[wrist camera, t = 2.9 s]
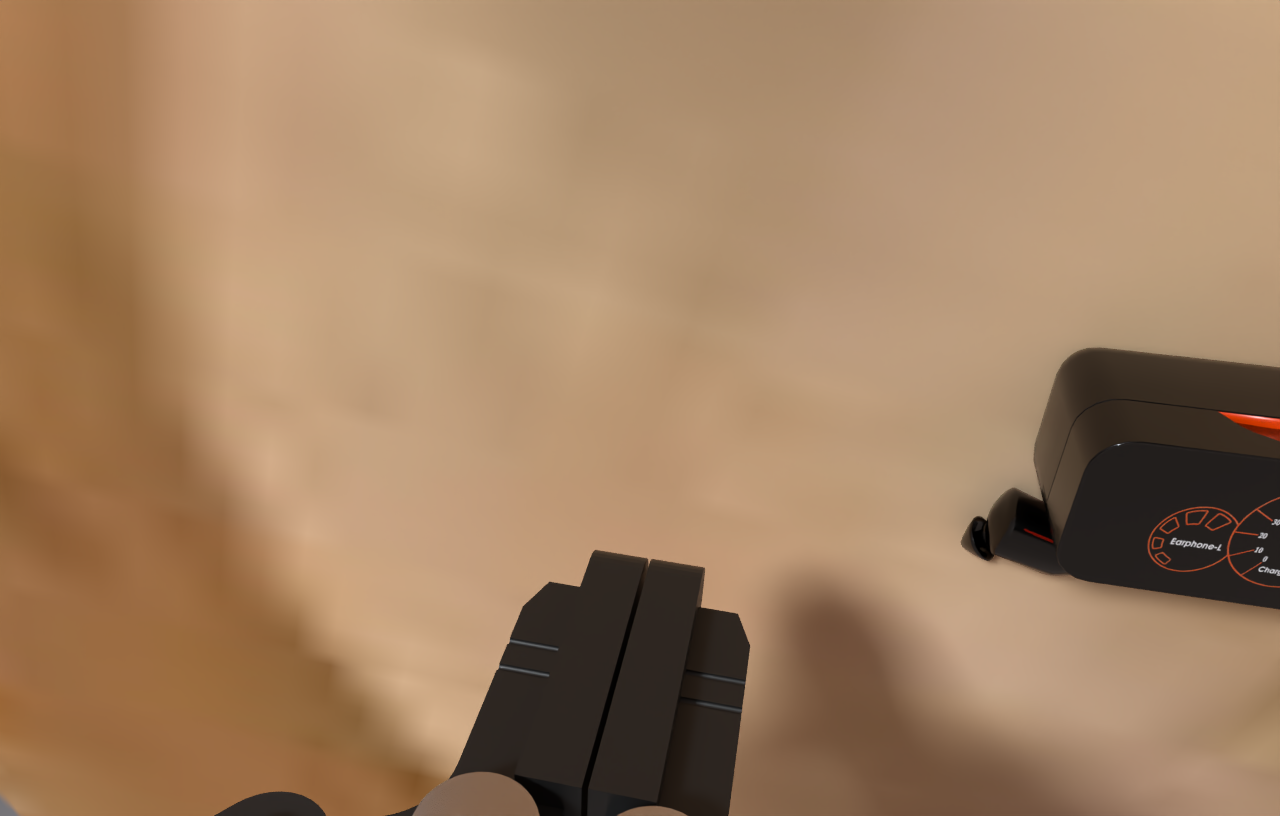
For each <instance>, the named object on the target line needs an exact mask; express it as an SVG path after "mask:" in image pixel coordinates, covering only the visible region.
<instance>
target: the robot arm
mask: <svg viewBox="0 0 1280 816" xmlns="http://www.w3.org/2000/svg"><path fill="white" fill-rule="evenodd" d="M704 575H705V568H703V567H697V566H691V565H685V564H679V563H673V562H667V561H661V560H655V559H652V560H651V561H650V564H649V567H648V559H647V558H641V557H635V556H629V555H623V554H617V553H611V552H605V551H599V550H595V551H594V552H593V553H592V555H591V558H590V561H589V564H588V566H587V569H586V572H585V575H584V578H583V581H582V583H581V586H580V587H577V586H571V585H565V584H559V583H554V582H549V583H548V584H547V585H546V586H544V587H543V588H542V589H541V590H540V591H539V592H538V593H537V594H536V595H535V596H534V597H533V598H532V599H531V600H529V601H528V602H527V603H526V604H525V605H524V606H523V608H522V610H521V613H520V615H519V618H518V620H517V622H516V625H515V627H514V630H513V632H512V634H511V637H510V642H509V644H507V647H506V649H505V651H504V654H503V656H502V659H501V661H500V665H499V669H498V670H497V671H496V673H495V675H494V678H493V680H492V683H491V685H490V688H489V690H488V692H487V695H486V697H485V700H484V702H483V704H482V707H481V709H480V712H479V714H478V717H477V719H476V721H475V724H474V726H473V729H472V731H471V733H470V736H469V738H468V741H467V743H466V746H465V748H464V750H463V753H462V755H461V758H460V760H459V762H458V765H457V766H456V768H455V770H454V772H453V774H452V775H451V777H450V778H449V779H448V780H446V781H445V782H443V783H441V784H440V785H438V786H436V787H435V788H434V789H433V790H432V791H430V792H429V793H428V794H427V795H426V796H425V797H424V799H423V800H422V801H421V802H420V804H419V805H417V806H415V807H412V808H410V809H408V810H406V811H402V812H399V813H396V814H392V815H387V816H728V814H729V807H730V799H731V791H732V783H733V776H734V768H735V760H736V752H737V744H738V737H739V729H740V721H741V713H742V705H743V698H744V690H745V682H746V674H747V666H748V659H749V651H750V644H749V642H748V639H747V637H746V634H745V631H744V629H743V626H742V623H741V621H740V618H739V615H738V614H736V613H730V612H725V611H719V610H713V609H707V608H701V602H702V593H703V584H704ZM215 816H326V815H325V813H324V812H323V810H322V809H321V808H320V807H319V805H317V804H316V803H315V802H313V801H312V800H311V799H309V798H307V797H304V796H302V795H299V794H295V793H291V792H268V793H263V794H258V795H255V796H252V797H249V798H246V799H244V800H242V801H240V802H238V803H236V804H234V805H232V806H231V807H229V808H227V809H225V810H223V811H222V812H220V813H218V814H216V815H215Z"/></svg>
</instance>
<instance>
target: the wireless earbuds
mask: <svg viewBox="0 0 1280 816" xmlns="http://www.w3.org/2000/svg"><path fill="white" fill-rule="evenodd" d="M1034 463H1035V468H1036V472H1037V476H1038V480H1039V485H1040V489H1041V493H1042V497H1043V501H1044V502H1043V501H1041V500H1039V499H1037V498H1035V497H1032V496H1030V495H1028V494H1026V493H1024V492H1022V491H1020V490H1018V489H1016V488H1011V489H1009V490H1007V491H1006V492H1005V493H1004V494H1002V495H1001V496H1000V498H999V499H998V500H997V501H996V502H995V503H994V505H993V506H992V508H991V510H990V512H989V515H988V518H987V521H986V520H985V519H984V518H982V517H980V516H976V517H975V518H974V519H973V520H972V522H971V523H970V524H969V526H968V527H967V529H966V531H965V533H964V535H963V537H962V540H961V545H962V547H963V548H965V549H966V550H967V551H969V552H970V553H972V554H974V555H975V556H977V557H979V558H981V559H984V560H987V561H990V560H992V559H993V557H994V555H997V556H1000V557H1002V558H1005V559H1008V560H1010V561H1013V562H1016V563H1018V564H1021V565H1023V566H1026V567H1028V568H1030V569H1033V570H1035V571H1038V572H1040V573H1043V574H1046V575H1055V576H1068V575H1072V576H1073V577H1075V578H1077V579H1081V580H1085V581H1089V582H1095V583H1102V584H1109V585H1116V586H1123V587H1130V588H1136V589H1143V590H1150V591H1157V592H1164V593H1171V594H1178V595H1185V596H1191V597H1198V598H1205V599H1212V600H1219V601H1226V602H1233V603H1239V604H1246V605H1253V606H1260V607H1267V608H1274V609H1280V367H1271V366H1262V365H1253V364H1244V363H1235V362H1226V361H1217V360H1208V359H1199V358H1190V357H1181V356H1172V355H1163V354H1153V353H1144V352H1135V351H1126V350H1117V349H1108V348H1086V349H1083V350H1080V351H1077V352H1075V353H1074V354H1072V355H1071V356H1070V357H1068V358H1067V359H1066V360H1065V361H1064V362H1063V364H1062V365H1061V367H1060V369H1059V371H1058V372H1057V374H1056V378H1055V381H1054V384H1053V387H1052V390H1051V394H1050V397H1049V400H1048V403H1047V407H1046V410H1045V413H1044V416H1043V419H1042V423H1041V426H1040V429H1039V432H1038V436H1037V439H1036V442H1035V447H1034Z"/></svg>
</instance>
